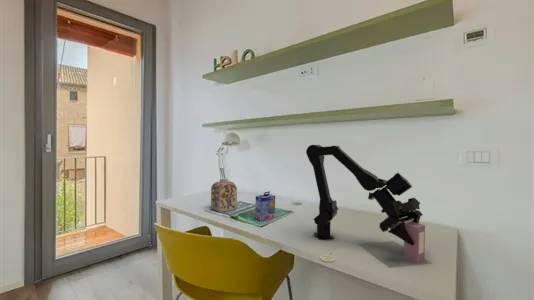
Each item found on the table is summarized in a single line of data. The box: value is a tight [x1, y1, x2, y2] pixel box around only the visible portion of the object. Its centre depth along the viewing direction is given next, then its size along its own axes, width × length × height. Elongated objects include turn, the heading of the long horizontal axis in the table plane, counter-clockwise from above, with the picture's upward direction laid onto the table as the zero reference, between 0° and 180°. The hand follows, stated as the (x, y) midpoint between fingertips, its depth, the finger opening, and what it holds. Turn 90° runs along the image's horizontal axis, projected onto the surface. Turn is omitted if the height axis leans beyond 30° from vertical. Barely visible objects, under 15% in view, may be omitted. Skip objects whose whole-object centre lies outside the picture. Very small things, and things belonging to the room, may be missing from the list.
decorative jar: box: [210, 178, 238, 213], centre depth 150 cm, size 12×12×18 cm
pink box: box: [403, 222, 426, 264], centre depth 85 cm, size 4×4×12 cm
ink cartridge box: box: [254, 191, 276, 222], centre depth 132 cm, size 10×6×14 cm, turn 132°
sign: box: [319, 247, 336, 264], centre depth 91 cm, size 5×1×15 cm
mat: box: [357, 240, 432, 268], centre depth 91 cm, size 19×16×1 cm
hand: (418, 242), depth 84 cm, fingers open, 6 cm apart
